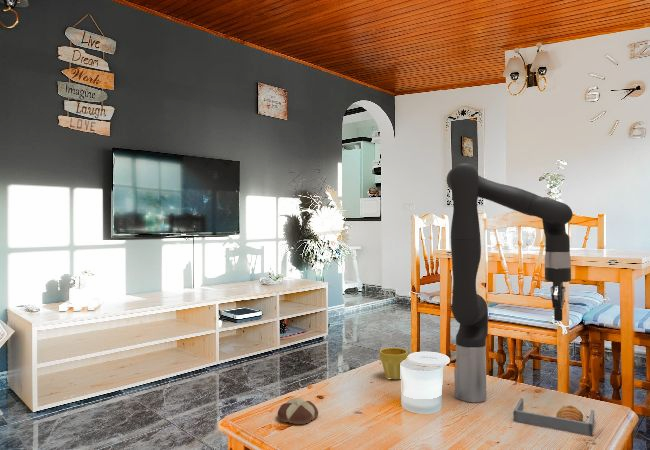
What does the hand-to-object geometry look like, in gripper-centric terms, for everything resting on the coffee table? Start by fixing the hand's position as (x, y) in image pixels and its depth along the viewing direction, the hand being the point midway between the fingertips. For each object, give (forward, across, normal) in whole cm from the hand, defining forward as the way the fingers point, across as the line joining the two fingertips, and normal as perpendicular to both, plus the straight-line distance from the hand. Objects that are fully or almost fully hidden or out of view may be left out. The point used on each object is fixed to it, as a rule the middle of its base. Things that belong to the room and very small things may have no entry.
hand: (558, 320), depth 154 cm
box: (+25, +18, 0) cm, 31 cm away
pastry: (+26, +18, +5) cm, 31 cm away
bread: (+26, +53, -64) cm, 87 cm away
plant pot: (+25, +5, -54) cm, 60 cm away
